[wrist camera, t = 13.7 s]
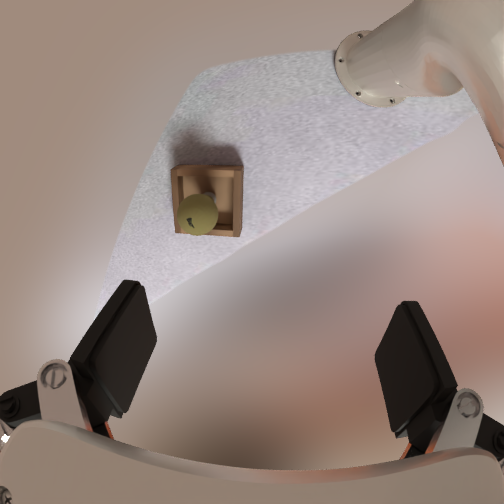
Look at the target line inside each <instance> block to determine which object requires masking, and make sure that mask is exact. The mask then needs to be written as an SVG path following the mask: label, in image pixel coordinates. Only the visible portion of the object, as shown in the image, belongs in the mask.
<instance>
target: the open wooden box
mask: <svg viewBox="0 0 504 504" xmlns="http://www.w3.org/2000/svg"><path fill="white" fill-rule="evenodd" d="M243 173H244V166H233V165H177V166H176V167H174V168H173V169H171V183H172V199H173V212H174V224H175V233H183V234H188V233H186V232H185V231H184V230H183V229H182V228H181V227H180V225H179V223H178V220H177V209H178V207H179V205H180V203H181V202H182V201H183V200H184V199H185V198H186V197H188V196H190V195H192V194H204V193H205V192H212V193H213V194H214V195H215V196H216V203H215V204H216V206H217V208H218V220H217V223H216V225H215V226H214V228H213V229H212V230H211V231H210V232H208V233H206V234H204V235H214V236H229V237H240V233H241V230H242V210H243Z"/></svg>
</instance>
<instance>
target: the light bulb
mask: <svg viewBox="0 0 504 504" xmlns="http://www.w3.org/2000/svg"><path fill="white" fill-rule="evenodd" d="M215 203H216V196H215V195H214V194H213V193H212V192H205V193H204V194H192V195H190V196H188V197H186V198H185V199H184V200H183V201H182V202H181V203H180V205H179V207H178V209H177V220H178V223H179V225H180V227H181V228H182V229H183V230H184V231H185V232H186V233H188V234H191V235H196V236H199V235H204V234H206V233H208V232H210V231H211V230H212V229H213V228H214V226H215V225H216V223H217V220H218V208H217V206H216V204H215Z"/></svg>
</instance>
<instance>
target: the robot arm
mask: <svg viewBox="0 0 504 504" xmlns="http://www.w3.org/2000/svg"><path fill="white" fill-rule="evenodd" d="M358 36H360V38H359V37H358ZM339 60H341V61H342V62H339ZM335 68H336V72H337V75H338V78H339V80H340V82H341V84H342V85H343V86H344V88H345V89H346V90H347V91H348V92H349V93H350V94H351V95H352V96H353V97H354V98H356V99H357V100H358V101H360V102H362V103H364V104H366V105H370V106H373V107H391V106H395V105H397V104H399V103H401V102H402V101H404V100H405V98H406V97H445V96H450V95H453V94H455V93H457V92H459V91H460V90H461V89H462V88H465V90H466V92H467V93H468V95H469V97H470V99H471V100H472V102H473V103H474V105H475V106H476V108H477V110H478V112H479V114H480V116H481V118H482V120H483V122H484V124H485V125H486V128H487V130H488V132H489V134H490V136H491V139H492V141H493V143H494V146H495V147H496V150H497V152H498V155H499V157H500V159H501V161H502V163H503V166H504V0H414V1H413V2H412V3H410V4H409V5H408V6H407V7H405V8H404V9H403V10H401V11H400V12H399V13H397V14H396V15H394V16H393V17H392V18H390V19H389V20H387V21H386V22H384V23H383V24H381V25H380V26H379V27H377V28H376V29H375V30H373V31H360V32H355V33H353V34H351V35H349V36H348V37H347V38H345V39H344V40H343V41H342V42H341V44H340V45H339V47H338V48H337V52H336V55H335ZM356 92H358V95H356ZM390 100H391V102H390ZM156 342H157V336H156V332H155V328H154V325H153V321H152V317H151V313H150V309H149V305H148V301H147V296H146V292H145V288H144V286H141V284H140V282H139V281H133V280H123V281H122V283H121V284H120V285H119V287H118V288H117V289H116V291H115V292H114V293H113V295H112V296H111V298H110V299H109V300H108V302H107V303H106V305H105V306H104V307H103V309H102V310H101V312H100V313H99V314H98V316H97V317H96V319H95V320H94V322H93V323H92V325H91V326H90V328H89V329H88V331H87V332H86V334H85V335H84V337H83V338H82V340H81V341H80V343H79V345H78V346H77V347H76V349H75V351H74V352H73V354H72V355H71V357H70V360H69V361H68V363H67V362H65V361H63V360H60V359H55V360H51V361H49V362H47V363H45V364H44V365H43V366H42V367H41V368H40V370H39V372H38V375H37V380H36V381H34V382H31V383H28V384H25V385H23V386H20V387H17V388H14V389H11V390H8V391H6V392H4V393H3V394H2V395H1V396H0V504H504V426H503V425H502V424H500V423H499V422H497V421H495V420H494V419H492V418H490V417H489V416H487V415H486V414H484V413H483V408H484V406H483V402H482V399H481V397H480V396H479V395H478V394H477V393H476V392H475V391H473V390H471V389H465V388H464V389H461V390H459V391H457V389H456V387H457V386H458V385H457V382H456V380H455V377H454V375H453V373H452V370H451V368H450V366H449V363H448V361H447V359H446V357H445V354H444V352H443V350H442V348H441V346H440V344H439V342H438V340H437V338H436V335H435V334H434V331H433V330H432V328H431V326H430V324H429V322H428V320H427V318H426V316H425V314H424V312H423V310H422V308H421V307H420V305H419V303H418V302H417V301H403V302H402V303H401V304H400V305H398V306H397V307H396V310H395V312H394V314H393V317H392V319H391V321H390V323H389V326H388V328H387V330H386V332H385V334H384V336H383V338H382V340H381V342H380V345H379V346H378V348H377V350H376V353H375V363H376V367H377V370H378V374H379V378H380V382H381V386H382V391H383V395H384V399H385V404H386V408H387V413H388V417H389V422H390V427H391V430H392V432H395V436H396V438H401V437H406V436H408V439H409V443H408V445H407V447H406V448H405V450H404V452H403V454H402V455H401V457H400V459H399V460H395V461H391V462H385V463H379V464H373V465H366V466H358V467H350V468H339V469H328V470H327V469H326V470H302V471H301V470H296V471H295V470H293V471H292V470H291V471H290V470H289V471H288V470H261V469H248V468H237V467H229V466H221V465H214V464H208V463H202V462H196V461H191V460H186V459H181V458H177V457H172V456H168V455H164V454H160V453H156V452H152V451H148V450H145V449H142V448H139V447H135V446H132V445H128V444H125V443H122V442H119V441H116V440H114V437H113V435H112V432H111V430H110V427H109V424H108V422H107V421H108V419H109V416H110V415H112V416H114V417H117V418H122V415H123V413H126V412H127V411H128V410H129V407H130V405H131V402H132V400H133V397H134V395H135V392H136V390H137V387H138V385H139V383H140V380H141V378H142V375H143V373H144V371H145V368H146V366H147V364H148V361H149V359H150V357H151V354H152V352H153V350H154V347H155V345H156Z"/></svg>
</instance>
